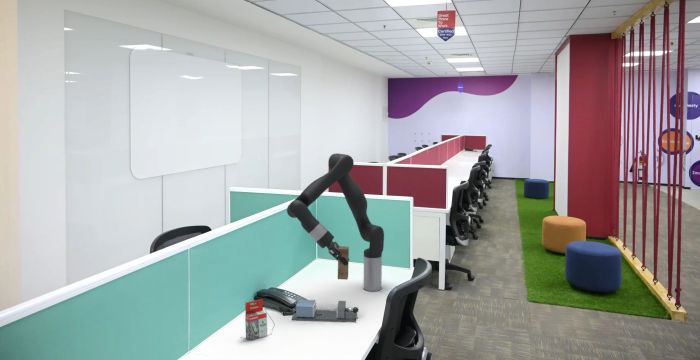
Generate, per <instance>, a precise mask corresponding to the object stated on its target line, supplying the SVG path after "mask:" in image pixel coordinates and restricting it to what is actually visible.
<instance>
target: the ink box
mask: <svg viewBox="0 0 700 360" xmlns="http://www.w3.org/2000/svg"><path fill="white" fill-rule="evenodd" d="M263 304H264V299H263V298H260V299H257V300H252V301H251V300H250V301H247V302H245V307H244V308H245V314H244V315H245V316H244V317H245V318H244V319H245V322H244V323H245V338H246V339H247V340H248V341H253V340H257V339H259V338H264V337H267V336H268V320H267V319H268V316H267V312H266V311H265V310H264V306H263Z"/></svg>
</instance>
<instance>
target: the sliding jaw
mask: <svg viewBox="0 0 700 360" xmlns="http://www.w3.org/2000/svg"><path fill="white" fill-rule="evenodd" d="M295 310H296V316H297V317H314V315H315V312H316V310H317V300H316V299H299V300H298V302H297V304H296V309H295Z"/></svg>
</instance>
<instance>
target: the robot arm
mask: <svg viewBox="0 0 700 360" xmlns="http://www.w3.org/2000/svg"><path fill="white" fill-rule="evenodd" d="M354 163H355V162H354V158H353V157H352V156H350V155H349V154H346V153H333V154H331V155H330V156H329V158H328V168H329V171H328V172H327V173H325V174H324V175H322V176H320V177H318V178H317V179H315V180H313V181H312V182H311V183H310V184H308V186H307V187H306V188H304V190H302V191H301V193H300V195H298V196H297V197H296V198H295V199H294V200H292V201H291V202H290V203H289V204H288V206H287V208H286V213H287V215H288V216H289V217H290V218H291V219H292V218H293V219H296V218H297V220H298V221H299V222H300V225H301V228H303V230H305V232H306V233H307V234H308V235H309V236H310V237H311V238H312V240H313V241H314V242H315V243H316V244H317V245H318V246H319V247H320V248H321V249H325V248H327V250H328V254H330V256H332V257H333V258H334V259H335V260H336V261H338V260H340V261H341V262H342V263H343V264H344V265H345V266H346V265H347V264H348V263H349V262H348V261H347V260H346V259H345V258H344V257H343V255H342V254H341V253H340V251H339V250H338V248H339V246H340V244H339V243H338V242H337V241H333V240H334V239H335V236H334V235H333V234H332V233H331V232H330V231H329V230H328V229H327V228H326V227H325V225H323V224H322V223H321V222H320V221H319V220H318V219H317V217H315V216H314V215H313V213H312V212H311V211H310V209H309V207H310V206H311V205H312V204H313V203H314V202H316V201H317V199H318V198H320V196H321V195H323V193H325V191H327V190H328V189H329V188H330V187H332V186H333V185H334V184H335V183H336V182H337V184H338V185H339V187H340V189H341V192H342V194H343V196H344V198H345V201H346V203H347V205H348V207H349V209H350V211H351V214H352V217H353V218H354V219H355V220H354V221H355V223H356V226H357V228H358V229H357V230H358V232H359V235H360V237H361V239H362V240H363V241H365V242H367V243H369V246H368V248H365V249H364V250H363V290H366V291H368V292H369V291H370V292H378V291H380V290H382V273H383V272H382V267H383V265H382V264H383V261H382V259H383V257H382V255H383V251H384V245H385V244H384V243H385V231H384V229H383V227H382V226H380V225H376V224H373V223H371V221H370V219H369V216H368V214H367V213H368V201H367V200H368V199H367V198H366V195H365V193H364V191H363V189H362V188H361V187H360V185H359V184H357V182H356V181H355V180H354V179H353V178H352V176H351V175H350V172H351V171H352V170H353V168H354ZM348 265H349V264H348Z"/></svg>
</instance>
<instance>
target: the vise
mask: <svg viewBox="0 0 700 360" xmlns="http://www.w3.org/2000/svg"><path fill="white" fill-rule="evenodd" d="M358 313H359V308H358V307H357V306H354V307H347V301H346V300H338V301H337V304H336V309H335V310H333V309H331V310H329V309H316V312H315V314H323V316H318V317H317V316H314V317H297V316H296V313H294V312H293V314H292V316H291V321H300V322H301V321H304V322H334V323H337V322H338V323H357V318H358Z"/></svg>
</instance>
